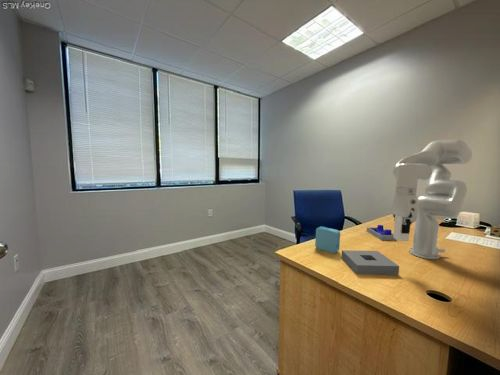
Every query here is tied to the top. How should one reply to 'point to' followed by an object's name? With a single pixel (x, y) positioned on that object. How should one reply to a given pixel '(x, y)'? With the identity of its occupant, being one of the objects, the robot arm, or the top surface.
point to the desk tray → (379, 236)
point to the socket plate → (369, 262)
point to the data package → (327, 239)
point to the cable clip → (382, 230)
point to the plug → (400, 229)
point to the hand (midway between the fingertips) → (401, 231)
